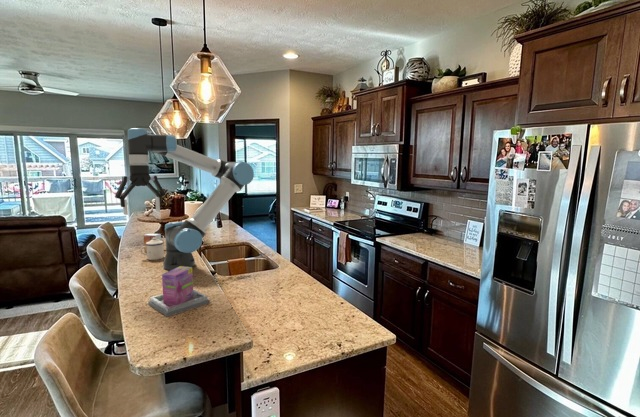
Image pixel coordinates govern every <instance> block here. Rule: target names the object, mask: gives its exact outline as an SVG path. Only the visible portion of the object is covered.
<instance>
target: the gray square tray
mask: <svg viewBox="0 0 640 417" xmlns="http://www.w3.org/2000/svg"><path fill="white" fill-rule="evenodd" d="M197 298H198V297H196V296H194V295H193V297H191V298H190V299H188V300H187V301H190V300H193V299H197ZM159 301H160V302H162V303H163V299H160V300H159ZM187 301H185V302H187ZM210 302H211V301H210V299H208V300H207V301H203V302H200V303H197V304H194V305H191V306H188V307H184V308H181V309H178V310H175V311H172V312H168V313H167V312H166V311H164V310H163V309H161V308H160V307H158V306H157V305H155V304H153V303H152V302H150V300H147V303H148V306H150V307H151V308H153V309H155V310H156V311H157V312H159V313H161V314H162V315H164V316H165V317H166V318H168V317H171V316H175V315H177V314H180V313H184V312H187V311H191V310H193V309H196V308H200V307H202V305H203V306H205V304H206V305H208V303H209V304H210ZM183 303H184V302H183ZM169 307H170V306H169Z"/></svg>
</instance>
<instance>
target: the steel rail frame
mask: <svg viewBox="0 0 640 417" xmlns="http://www.w3.org/2000/svg"><path fill="white" fill-rule="evenodd" d="M193 295H194V296H196V297H198V298H197V299H193V300H190V301H187V302H184V303H180V304H177V305H174V306H170V307H169V306H167V305H165V304H164V303H162V302H160V301H159V300H160V299H163V293H162V294H158V295H153V296H150V297H149V301H150V302H152V303H153V304H155V305H157V306H158V307H160V308H161V309H163V310H164V311H166V312H167V313H168V312H172V311H175V310H178V309H181V308H184V307H188V306H191V305H194V304H197V303H200V302H203V301H207V300H209V298H208V296H207V295H206V294H204V293H202V292H199V291H198V290H195V289H193Z"/></svg>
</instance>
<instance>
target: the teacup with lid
mask: <svg viewBox="0 0 640 417" xmlns="http://www.w3.org/2000/svg"><path fill="white" fill-rule="evenodd" d="M144 248H146V249H147V252H146V253H145V252H143V251H142V249H144ZM139 251H140V253H141V255H143V256H146V259H147V260H149V261H159V260H161V259H165V252H164V251H165V250H164V241H163V240H161V241H160V240H158V239H156V238H153V240H150V241H149V242H147V243H146V246H144V245H143V246H141V247H140V250H139Z"/></svg>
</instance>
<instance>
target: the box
mask: <svg viewBox="0 0 640 417" xmlns="http://www.w3.org/2000/svg"><path fill="white" fill-rule="evenodd" d="M193 278H194V277H193V267H184V266H179V267H177V268H175V269H173V270H167V271H166V272H164V273H162V274H161V279H162V281H161V282H162V283H161V284H162V294H163V303H164V304H165V305H167V306H174V305H177V304H180V303H183V302H185V301H187V300H188V299H190V298H191V297H193V290H194V282H193V281H194V280H193Z"/></svg>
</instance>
